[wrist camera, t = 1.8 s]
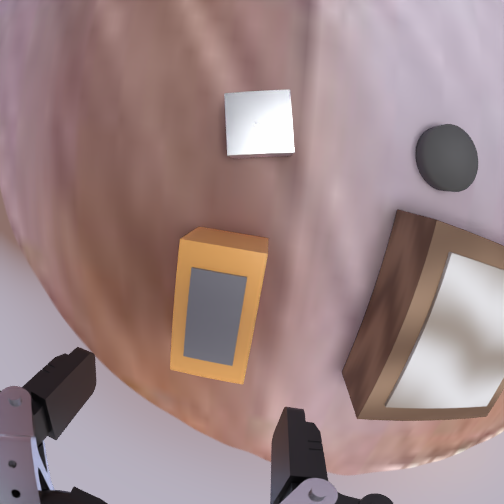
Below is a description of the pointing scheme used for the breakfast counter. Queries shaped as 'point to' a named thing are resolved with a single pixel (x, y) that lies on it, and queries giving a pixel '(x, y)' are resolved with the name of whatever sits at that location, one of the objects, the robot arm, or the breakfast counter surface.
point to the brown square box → (431, 327)
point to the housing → (216, 302)
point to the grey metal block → (259, 124)
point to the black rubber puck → (447, 158)
